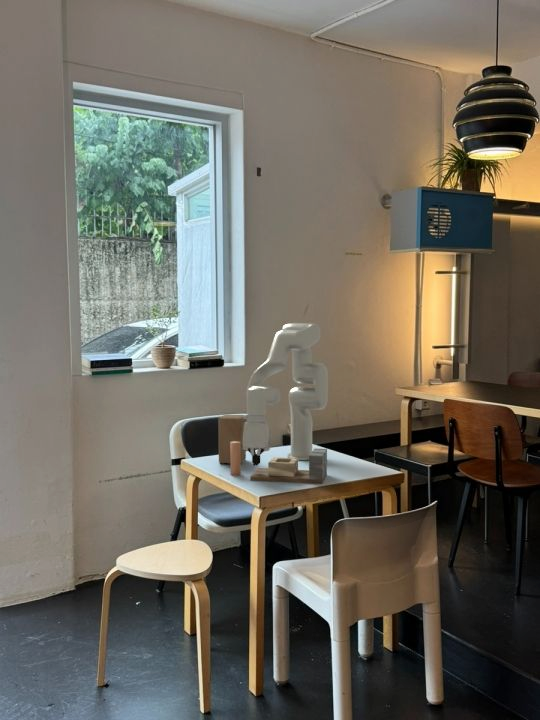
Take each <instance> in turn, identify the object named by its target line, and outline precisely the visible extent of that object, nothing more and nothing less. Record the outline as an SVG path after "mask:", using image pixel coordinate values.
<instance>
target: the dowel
mask: <svg viewBox="0 0 540 720" xmlns="http://www.w3.org/2000/svg"><path fill="white" fill-rule="evenodd" d="M230 452H231V464H230V475H231V476H233V475H237V476H241V475H242V472H241V466H242V465H241V464H242V463H241V451H240V442H238V441H234V442H230ZM240 474H241V475H240Z"/></svg>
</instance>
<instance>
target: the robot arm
mask: <svg viewBox="0 0 540 720" xmlns="http://www.w3.org/2000/svg"><path fill="white" fill-rule="evenodd" d="M321 333H322V332H321V329H320V326H319V325H318V324H316V323H310V322H309V323H302V322H301V323H298V322H293V323H292V322H291V323H287V324H284V325H283V326H282V328H281V330H279V331H276V333H275V335H274V337H273V340H272V343H271V346H270V350H269V352H268V355H267V359H266V361H265V362H263V363H262V364H261V365H260V366H258V367H257V369H256V370H255V371H254V372H253V373H252V374H251V376H250V379H249V381H248V384H247V387H246V392H245V396H246V415H244V416H243V419H246V422H245V424H244V431H243V449H244V450H246V452H249V454H250V455H251V463H252V466H254V467H255V466H256V467H258V466H259V465H260V464H261V455H262V454H263V453H264V452H268V451H270V449H271V448H270V431H269V424H268V422H267V405H270V406H271V405H277V404H278V403H279V402H280V400H281V398H282V392H281V389H280V388H278V387H276V386H275V385H262V383H263V382H264V381H265V380H266V379H267V378H268V377H271V376H272V375H274V374H278V373H280V372H282V371H284V370H285V369H286V368H287V366H288V363H289V362H288V361H289V359H290V355H291V354H292V356H291V357H292V361H291V362H292V366H291V370H292V372H291V373H292V374H291V375H292V377H291V378H292V379H293V382H295V383H297V384H305V385H314V387H313V386H311V387H310V386H294V387H292V388H291V389H290V390H289V392H288V397H287V398H288V404H289V409H290V410H289V411H290V452H289V453H288V454H287V457H286V458H298V461H309V456H310V454H311V453H312V451H313V416H312V414H311V412H310V410H317V411H318V410H319V411H321V410H324V409H325V408H326V407H327V405H328V400H329V372H328V368H327V366H326V365H325V364H324V363H322V362H313V359H312V357H313V356H312V355H313V354H312V349H311V347H312V346H314V345H315V344H317V342H319V340H320V338H321V335H322V334H321ZM256 449H257V451H256Z"/></svg>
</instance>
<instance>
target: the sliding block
mask: <svg viewBox="0 0 540 720" xmlns="http://www.w3.org/2000/svg"><path fill="white" fill-rule="evenodd" d="M267 467H268V476H289V477H294V476H295V474H296V473H297V471H298V470H299V460H298V458H288V457H276V456H274V457H272V458H271V459H270V460H269V462H268V465H267Z"/></svg>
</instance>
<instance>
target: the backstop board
mask: <svg viewBox="0 0 540 720" xmlns="http://www.w3.org/2000/svg"><path fill="white" fill-rule="evenodd" d="M327 475H328V449H327V448H314V449H312V453H311V454H310V456H309V460H308V470H307V469H305V470H304V469H298V471H297V473H296V474H295V476H294V477H289V476H268V468H267V467H265V468H264V467H263V468H262V467H258V468H257V469H256V470H255V471H254V472H253V473H252V474H251V475H250V477H249V479H250V481H255V480H256V481H255V482H257V481H258V482H259V481H260V482H279V483H299V484H314V485H315V484H316V485H317V484H319V485H322V484H323V483H324V481H325V480H326V477H327Z"/></svg>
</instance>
